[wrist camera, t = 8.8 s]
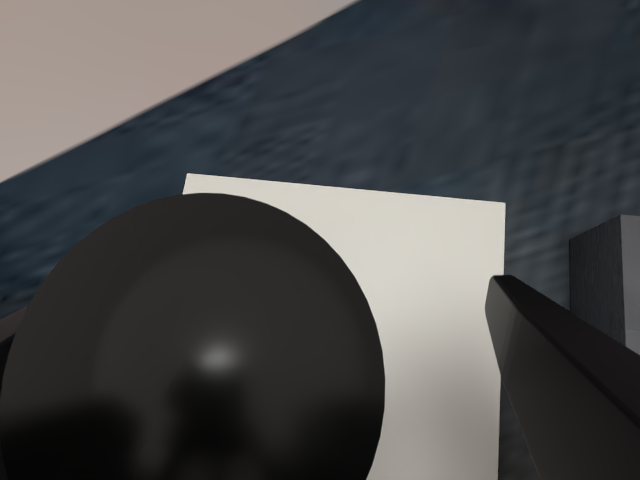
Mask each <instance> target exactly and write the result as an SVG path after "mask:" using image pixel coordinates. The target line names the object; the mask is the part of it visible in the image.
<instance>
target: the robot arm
mask: <svg viewBox="0 0 640 480" xmlns="http://www.w3.org/2000/svg"><path fill="white" fill-rule="evenodd" d="M26 309H27V307H26V308H23V309H21V310H19V311H17V312H15V313H13V314H11V315H9V316H7V317H5V318H3V319H1V320H0V398H1V390H2V382H3V375H4V371H5V367H6V363H7V358H8V354H9V351H10V348H11V345H12V342H13V339H14V337H15V334H16V331H17V328H18V326H19V324H20V322H21V320H22V318H23V316H24V314H25V312H26ZM485 316H486V320H487V324H488V328H489V332H490V336H491V340H492V344H493V348H494V351H495V355H496V359H497V363H498V367H499V371H500V374H501V378H502V381H503V384H504V386H505V389H506V392H507V394H508V397H509V399H510V402H511V405H512V407H513V410H514V412H515V415H516V418H517V420H518V423H519V425H520V428H521V431H522V433H523V436H524V438H525V441H526V444H527V446H528V449H529V451H530V454H531V456H532V459H533V462H534V464H535V467H536V469H537V472H538V475H539V477H540V480H640V355H639V354H637V353H636V352H634V351H632V350H631V349H629V348H628V347H626V346H624V345H623V344H621V343H620V342H618V341H616V340H615V339H613V338H612V337H610V336H608V335H607V334H605V333H604V332H602V331H600V330H599V329H597V328H596V327H594V326H592V325H591V324H589V323H588V322H586V321H584V320H583V319H581V318H580V317H578V316H576V315H575V314H573V313H572V312H570V311H568V310H567V309H565V308H564V307H562V306H560V305H559V304H557V303H556V302H554V301H552V300H551V299H549V298H548V297H546V296H544V295H543V294H541V293H540V292H538V291H536V290H535V289H533V288H532V287H530V286H528V285H527V284H525V283H524V282H522V281H520V280H519V279H517V278H516V277H514V276H512V275H493V276H492V277H491V278H490V280H489V285H488V290H487V296H486V302H485ZM0 480H8V477H7V473H6V469H5V465H4V461H3V456H2V447H1V438H0Z"/></svg>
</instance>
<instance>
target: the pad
mask: <svg viewBox="0 0 640 480" xmlns="http://www.w3.org/2000/svg"><path fill="white" fill-rule="evenodd" d="M192 193H224V194H230V195H236V196H243V197H247V198H250V199H254V200H257V201H260V202H264V203H267V204H269V205H271V206H274V207H276V208H278V209H280V210H282V211H285V212H287V213H289V214H290V215H292V216H293V217H295V218H297V219H298V220H300V221H301V222H303V223H305V224H306V225H308V226H309V227H310V228H311V229H312V230H314V231H315V232H316V233H317V234H318V235H320V236H321V237H322V238H323V239H325V241H326V242H327V243H328V244H329V245H330V246H331V247H332V248H333V249H334V250H335V251H336V252H337V253H338V254H339V256H340V257H341V258H342V259H343V261H344V262H345V264H346V265H347V266H348V268H349V269H350V271H351V272H352V273H353V275H354V276H355V278H356V280H357V282H358V283H359V285H360V287H361V289H362V291H363V293H364V295H365V297H366V299H367V301H368V303H369V306H370V309H371V311H372V314H373V317H374V319H375V322H376V325H377V329H378V334H379V338H380V342H381V347H382V351H383V361H384V370H385V409H384V415H383V422H382V429H381V436H380V440H379V443H378V447H377V450H376V454H375V457H374V461H373V465H372V467H371V470H370V472H369V474H368V477H367V479H366V480H498V450H499V415H500V379H501V374H500V371H499V367H498V363H497V359H496V355H495V351H494V348H493V344H492V340H491V336H490V332H489V328H488V324H487V320H486V316H485V302H486V296H487V290H488V285H489V280H490V278H491V277H492V276H493V275H503V272H504V236H505V203H500V202H489V201H478V200H467V199H457V198H446V197H435V196H425V195H414V194H403V193H392V192H382V191H371V190H360V189H350V188H339V187H328V186H317V185H307V184H296V183H285V182H274V181H264V180H253V179H242V178H232V177H221V176H210V175H199V174H189V173H187V177H186V182H185V186H184V190H183V194H192Z"/></svg>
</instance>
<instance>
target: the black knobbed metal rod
mask: <svg viewBox="0 0 640 480" xmlns="http://www.w3.org/2000/svg"><path fill="white" fill-rule="evenodd" d="M384 409H385V370H384V361H383V351H382V347H381V342H380V338H379V334H378V329H377V325H376V322H375V319H374V317H373V314H372V311H371V309H370V306H369V303H368V301H367V299H366V297H365V295H364V293H363V291H362V289H361V287H360V285H359V283H358V282H357V280H356V278H355V276H354V275H353V273H352V272H351V271H350V269H349V268H348V266H347V265H346V264H345V262H344V261H343V259H342V258H341V257H340V256H339V254H338V253H337V252H336V251H335V250H334V249H333V248H332V247H331V246H330V245H329V244H328V243H327V242H326V241H325V239H323V238H322V237H321V236H320V235H318V234H317V233H316V232H315V231H314V230H312V229H311V228H310V227H309V226H308V225H306V224H305V223H303V222H301V221H300V220H298V219H297V218H295V217H293V216H292V215H290V214H289V213H287V212H285V211H282V210H280V209H278V208H276V207H274V206H271V205H269V204H267V203H264V202H260V201H257V200H254V199H250V198H247V197H243V196H236V195H230V194H224V193H192V194H182V195H175V196H171V197H166V198H162V199H158V200H154V201H151V202H148V203H146V204H143V205H140V206H137V207H134V208H132V209H130V210H128V211H126V212H124V213H122V214H120V215H118V216H116V217H114V218H112V219H111V220H109V221H108V222H106V223H105V224H103V225H102V226H100V227H98V228H97V229H95V230H94V231H93V232H91V233H90V234H89V235H88V236H86V237H85V238H84V239H83V240H81V241H80V242H79V243H78V244H77V245H75V246H74V247H73V248H72V249H71V250H70V251H69V252H68V253H67V254H66V255H65V256H64V258H63V259H62V260H61V261H60V262H59V263H58V264H57V265H56V266H55V268H54V269H53V270H52V271H51V273H50V274H49V275H48V276H47V278H46V279H45V280H44V281H43V283H42V284H41V286H40V288H39V289H38V291H37V292H36V294H35V296H34V297H33V299H32V300H31V302H30V303H29V305H28V307H27V309H26V312H25V314H24V316H23V318H22V320H21V322H20V324H19V326H18V328H17V331H16V334H15V337H14V339H13V342H12V345H11V348H10V351H9V354H8V358H7V363H6V367H5V371H4V375H3V382H2V390H1V398H0V438H1V447H2V456H3V461H4V465H5V469H6V473H7V477H8V480H366V479H367V477H368V474H369V472H370V470H371V467H372V465H373V461H374V457H375V454H376V450H377V447H378V443H379V440H380V436H381V429H382V422H383V415H384Z"/></svg>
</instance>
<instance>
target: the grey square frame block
mask: <svg viewBox="0 0 640 480" xmlns="http://www.w3.org/2000/svg"><path fill="white" fill-rule="evenodd" d="M570 312H572V313H573V314H575V315H576V316H578V317H580V318H581V319H583V320H584V321H586V322H588V323H589V324H591V325H592V326H594V327H596V328H597V329H599V330H600V331H602V332H604V333H605V334H607V335H608V336H610V337H612V338H613V339H615V340H616V341H618V342H620V343H621V344H623V345H624V346H626V347H628V348H629V349H631V350H632V351H634V352H636V353H637V354H639V355H640V216H630V215H619V216H617V217H615V218H613V219H611V220H609V221H607V222H605V223H602V224H600V225H598V226H596V227H594V228H592V229H590V230H588V231H586V232H584V233H582V234H580V235H578V236H576V237H574V238H572V239H570Z"/></svg>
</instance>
